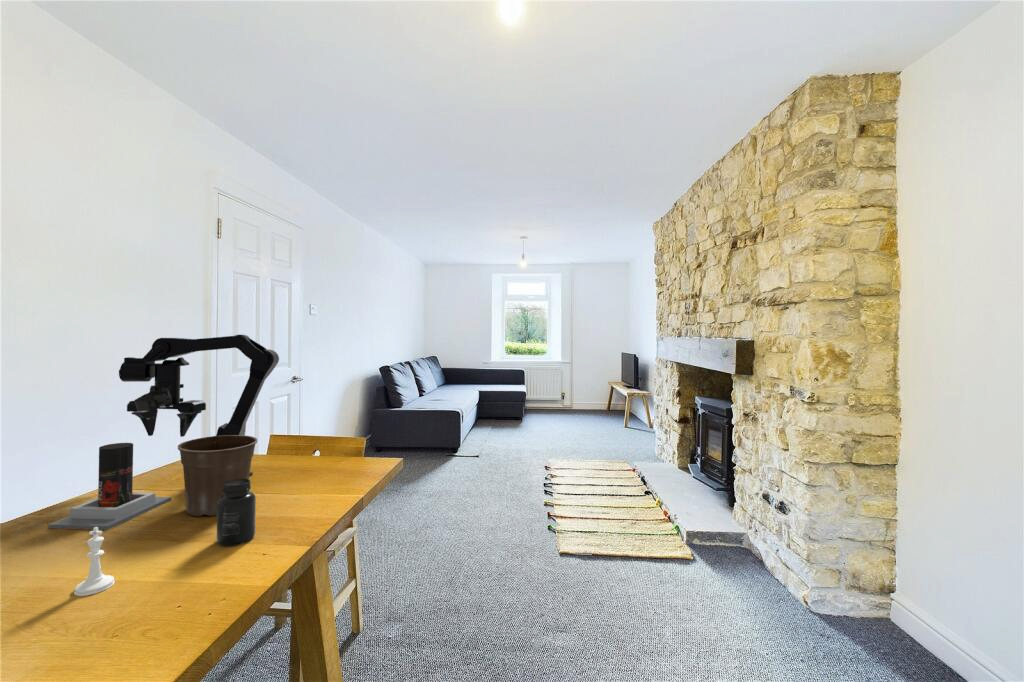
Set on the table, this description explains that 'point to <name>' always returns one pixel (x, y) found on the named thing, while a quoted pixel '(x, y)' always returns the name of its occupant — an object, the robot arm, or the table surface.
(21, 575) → the table surface
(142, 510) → the socket board
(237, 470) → the plant pot
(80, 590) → the chess piece
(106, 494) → the deodorant
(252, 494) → the supplement bottle
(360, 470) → the table surface
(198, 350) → the robot arm
